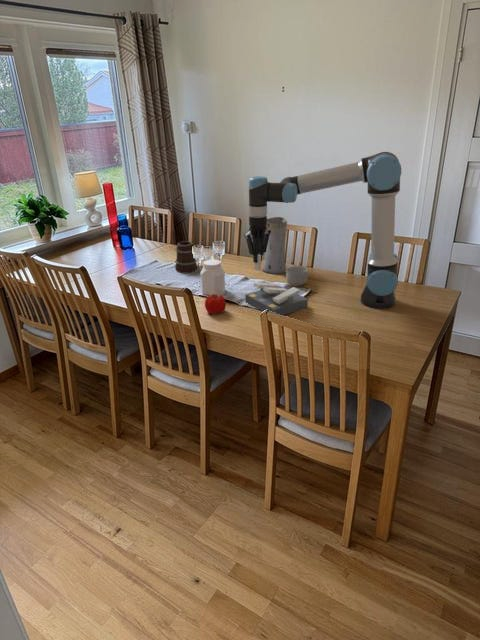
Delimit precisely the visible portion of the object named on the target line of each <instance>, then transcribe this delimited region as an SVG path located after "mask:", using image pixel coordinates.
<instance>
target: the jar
mask: <svg viewBox="0 0 480 640" xmlns="http://www.w3.org/2000/svg"><path fill="white" fill-rule="evenodd" d="M200 282H201V284H200V285H201V294H202V295H208V296H211V295H212V294H216V295H217V296H218V295H222V296H223V295H224V294H225V293H226V279H225V270H224V269H223V267H222V262H221V261H220V260H218V259H206V260H205V261H203V268H202V269H201V271H200Z"/></svg>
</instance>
